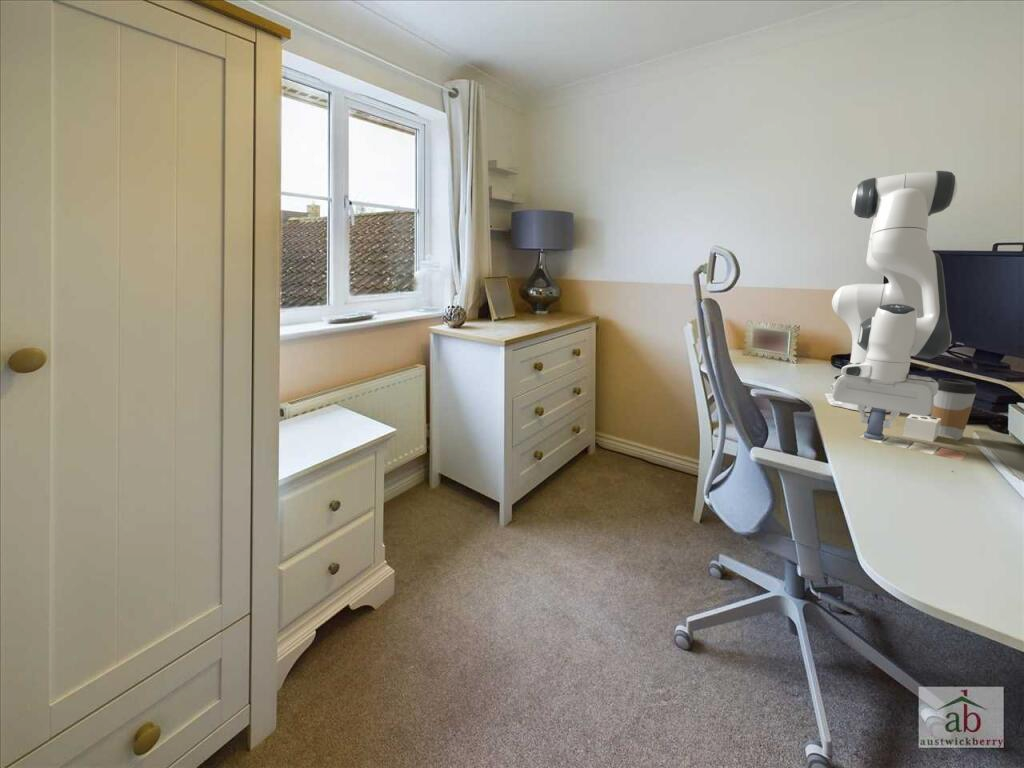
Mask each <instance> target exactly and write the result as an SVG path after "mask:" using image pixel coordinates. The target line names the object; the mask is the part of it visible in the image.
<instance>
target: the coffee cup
mask: <svg viewBox="0 0 1024 768" xmlns="http://www.w3.org/2000/svg"><path fill="white" fill-rule="evenodd" d="M937 382H938V384H939V388H938V392H937V394H936V395H935V396H934V404H933V411H932V413H931V414H930V417H935V418H941V422H940V427H939V432H938V435H940V436H944V437H950V438H953V439H955V440H957V441H960V440H961V439H962V437H963V435H964V432H965V429H966V428H967V424H968V421H969V418H970V414H971V412H972V409H973V404H974V401H975V397H976V395H977V394H978V391H977V390H978V387H977V383H976V382H973V381H969V380H964V379H956V378H955V379H954V378H938V380H937Z"/></svg>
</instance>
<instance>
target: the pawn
mask: <svg viewBox="0 0 1024 768" xmlns="http://www.w3.org/2000/svg"><path fill="white" fill-rule="evenodd" d="M871 408H872V409H871V410H870V412H869V415H868V416H869V421H868V424H867V427H866V431H863V432H864V434H863V435H864V437H866V438H869V439H874V440H883V438H884V436H885V435H884V434H883V431H884V427H883V424H884V423H883V421H884V420H885V419H886V415H887V412H886V410H885V409H879V408H873V407H871Z"/></svg>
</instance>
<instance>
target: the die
mask: <svg viewBox="0 0 1024 768" xmlns="http://www.w3.org/2000/svg"><path fill="white" fill-rule="evenodd" d="M940 422H941V418H935V417H931V416H929V415H927V416H919V415H913V414H908V416H906V417H905V423H904V428H903V434H902V436H903V437H908V438H912V439H918V440H921V441H922V440H923V441H928V442H934V441H936V439H937V438H938V435H939V434H938V432H939V427H940Z"/></svg>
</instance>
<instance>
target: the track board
mask: <svg viewBox="0 0 1024 768" xmlns="http://www.w3.org/2000/svg"><path fill="white" fill-rule="evenodd" d="M858 439H860V440H864V441H869V442H874V443H879V444H883V445H887V446H892V447H897V448H900V449H901V448H902V449H904V450H905V449H908V450H911V451H915V452H920V453H925V454H930V455H935V456H937V457H943V458H947V459H953V460H957V461H963V460H964V458H965V456H967V452H964V451H959V450H952V449H949V448H943V447H940V449H939V446H933V445H929V444H926V443H925V444H924V443H920V442H914V443H913V441H911V440H905V439H900V438H895V437H890V436H889V437H888V436H886V435H884V438H883V440H874V439H869V438H866V437H864V434H862V435H861V436H859V437H858Z"/></svg>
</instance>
